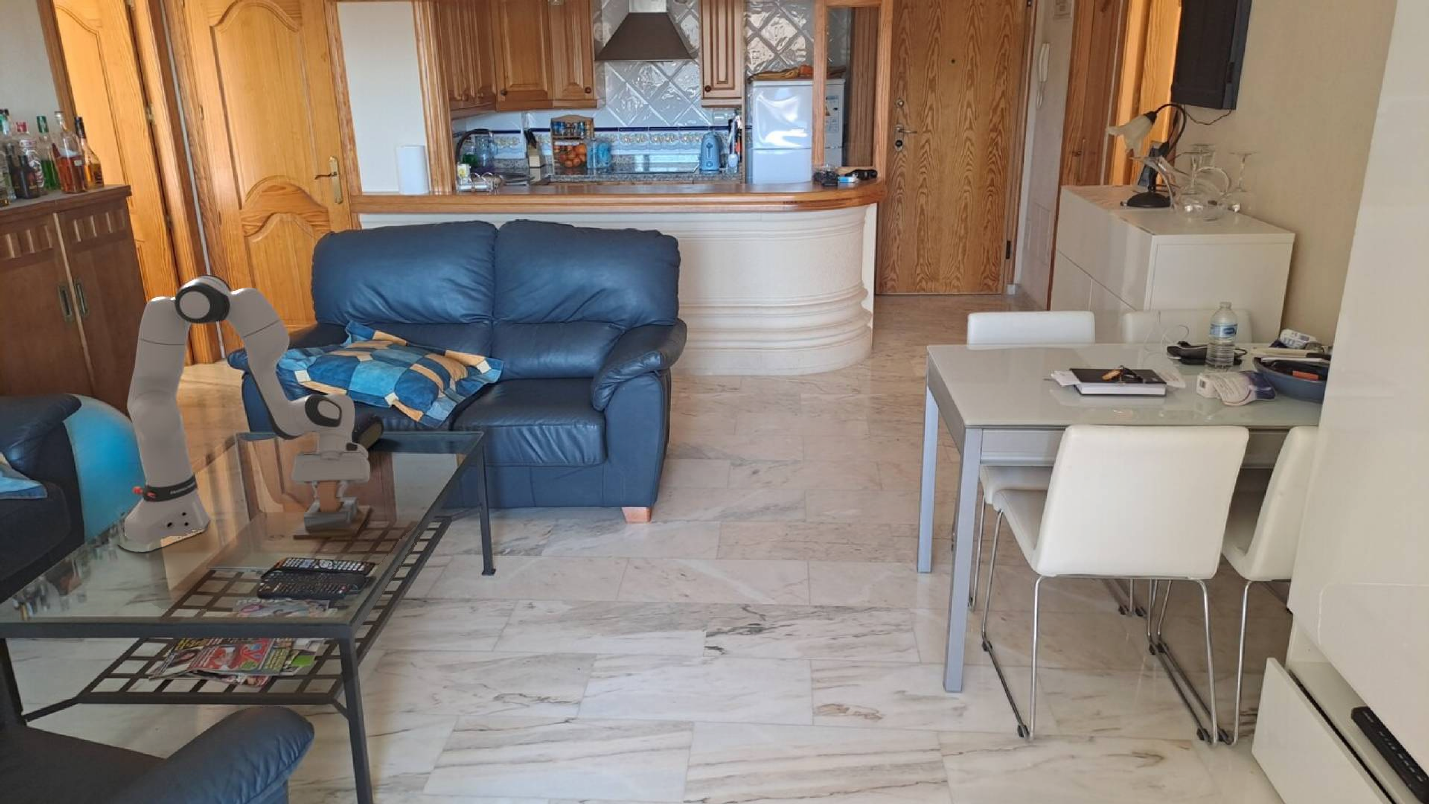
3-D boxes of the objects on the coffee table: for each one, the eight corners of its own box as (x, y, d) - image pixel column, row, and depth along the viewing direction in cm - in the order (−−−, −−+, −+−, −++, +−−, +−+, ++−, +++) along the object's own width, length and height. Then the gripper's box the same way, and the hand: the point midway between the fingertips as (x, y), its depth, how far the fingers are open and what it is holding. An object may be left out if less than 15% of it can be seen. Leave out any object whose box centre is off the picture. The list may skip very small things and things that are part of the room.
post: (337, 517, 263) (331, 487, 260) (321, 518, 263) (316, 488, 260) (341, 510, 267) (336, 481, 264) (326, 511, 267) (321, 481, 263)
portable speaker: (356, 468, 300) (351, 438, 297) (325, 467, 301) (320, 437, 298) (390, 436, 323) (386, 408, 320) (361, 435, 325) (357, 407, 321)
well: (354, 536, 259) (351, 519, 257) (293, 538, 258) (290, 521, 256) (371, 508, 274) (368, 492, 272) (313, 510, 273) (310, 494, 271)
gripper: (291, 447, 265) (284, 495, 259) (367, 445, 266) (362, 493, 260) (299, 456, 271) (293, 503, 265) (374, 453, 271) (369, 500, 266)
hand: (328, 498), depth 262 cm, fingers closed on post, 4 cm apart
